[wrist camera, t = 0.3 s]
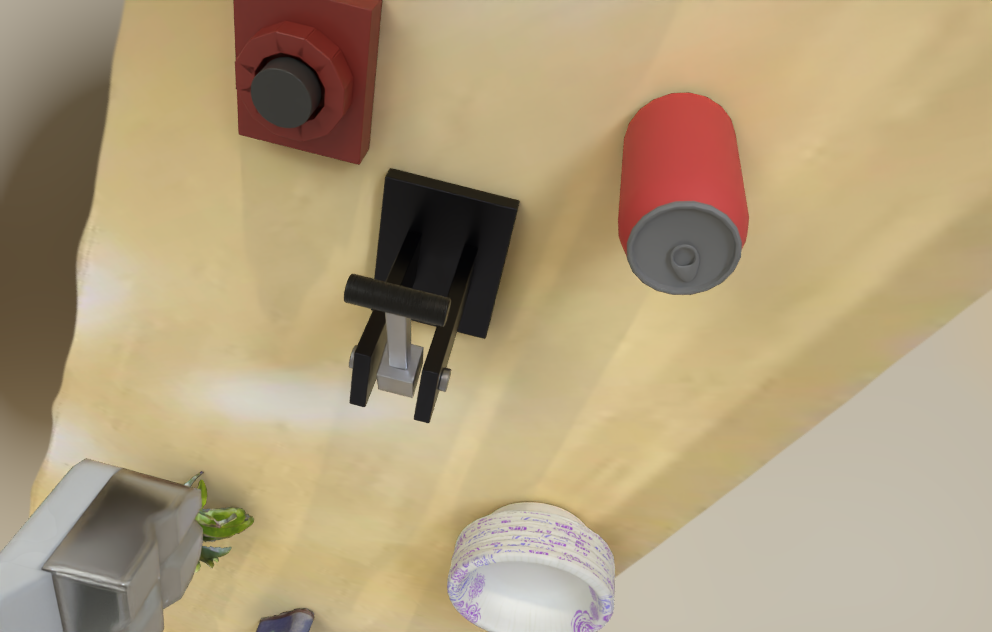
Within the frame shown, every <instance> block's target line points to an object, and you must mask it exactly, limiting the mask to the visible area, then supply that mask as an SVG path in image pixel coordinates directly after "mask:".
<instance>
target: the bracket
mask: <svg viewBox="0 0 992 632" xmlns="http://www.w3.org/2000/svg"><path fill="white" fill-rule="evenodd" d="M519 203H520V202H519V200H515V199H511V198H507V197H503V196H499V195H495V194H491V193H487V192H483V191H479V190H475V189H471V188H467V187H463V186H459V185H455V184H451V183H447V182H443V181H439V180H435V179H431V178H427V177H423V176H419V175H415V174H411V173H408V172H404V171H400V170H396V169H392V168H390V169H389V171H388V173H387V175H386V177H385V184H384V194H383V203H382V212H381V222H380V231H379V240H378V250H377V259H376V268H375V278H374V279H376V280H380V281H384V282H388V283H392V284H396V285H400V286H404V287H408V288H412V289H416V290H420V291H424V292H428V293H432V294H436V295H440V296H444V297H448V298H450V299H451V305H450V309H449V313H448V317H447V321H446V324H445V326H444V327H441V326H437V325H434V324H430V323H426V322H422V321H418V320H414V319H411V320H412V321H416V322H420V323H424V324H428V325H432V326H436V327H437V328H436V331H435V334H434V337H433V340H432V343H431V346H430V349H429V352H428V355H427V358H426V361H425V364H424V367H423V370H422V375H421V380H420V386H419V392H418V397H417V403H416V408H415V414H414V420H417V421H421V422H425V423H429V422H430V420H431V416H432V413H433V410H434V407H435V403H436V400H437V397H438V393H439V390H440V391H444V392H446V390H447V387H448V383H449V379H450V375H451V369H448V368H446V367H447V363H448V360H449V357H450V354H451V350H452V347H453V344H454V340H455V337H456V334H457V332H460V333H464V334H468V335H472V336H476V337H480V338H484V339H485V338H486V336H487V332H488V328H489V324H490V320H491V316H492V312H493V308H494V304H495V299H496V295H497V291H498V287H499V283H500V279H501V275H502V271H503V267H504V263H505V259H506V255H507V251H508V247H509V243H510V239H511V235H512V231H513V227H514V223H515V219H516V215H517V211H518V207H519ZM371 310H372V314H371V316H370V318H369V321H368V323H367V325H366V327H365V330H364V332H363V334H362V336H361V339H360V341H359V343H358V345H357V346H354V348H353V350H352V353H351V356H350V361H349V367H350V368H352V369H353V371H352V381H351V392H350V404H354V405H358V406H362V407H365V406H366V404H367V401H368V399H369V396H370V394H371V391H372V389H373V386H374V384H375V381H376V379H377V371H378V368H379V365H380V361H381V358H382V355H383V352H384V349H385V345H386V342H387V330H386V317H385V312H382V311H378V310H374V309H371Z"/></svg>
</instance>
